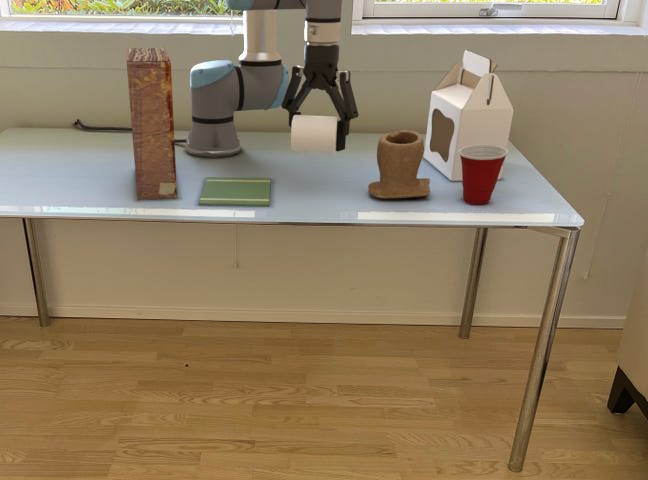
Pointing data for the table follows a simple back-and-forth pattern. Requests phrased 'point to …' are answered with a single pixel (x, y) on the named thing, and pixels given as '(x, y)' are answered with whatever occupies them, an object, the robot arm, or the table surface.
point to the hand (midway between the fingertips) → (317, 145)
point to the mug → (314, 134)
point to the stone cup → (400, 166)
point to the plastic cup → (480, 171)
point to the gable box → (466, 114)
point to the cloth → (236, 191)
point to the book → (152, 122)
